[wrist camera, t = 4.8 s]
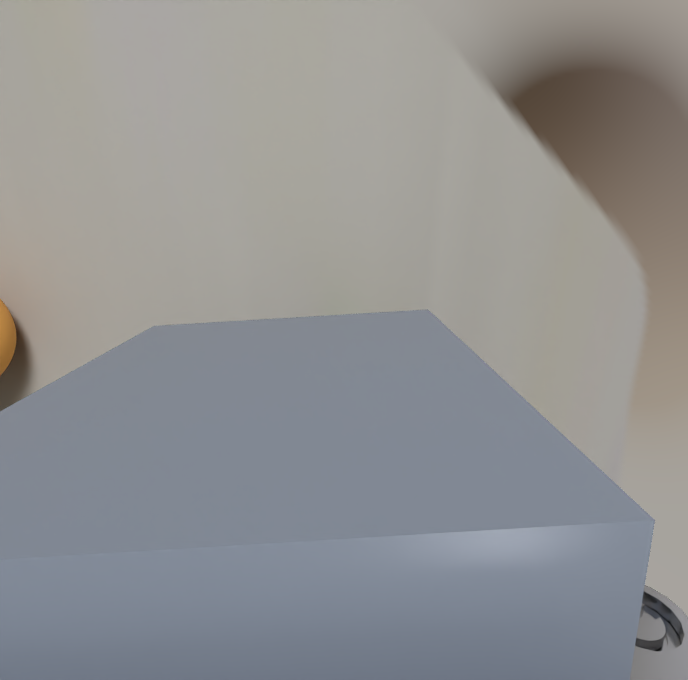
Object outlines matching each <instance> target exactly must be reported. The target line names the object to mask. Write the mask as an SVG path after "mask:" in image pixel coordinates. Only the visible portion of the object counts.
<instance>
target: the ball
mask: <svg viewBox="0 0 688 680" xmlns="http://www.w3.org/2000/svg"><path fill="white" fill-rule="evenodd" d="M16 339H17V338H16V328H15V324H14V321H13V318H12V316H11V314H10V312H9V310H8V308H7V307H6V305H5V304H4V303H3V301H2V300H1V299H0V376H1V374H2V373H3V372H4V371H5V370H6V368H7V367H8V365H9V363H10V361H11V360H12V357H13V355H14V351H15V347H16Z"/></svg>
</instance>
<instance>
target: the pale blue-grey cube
mask: <svg viewBox="0 0 688 680" xmlns="http://www.w3.org/2000/svg"><path fill="white" fill-rule="evenodd" d="M654 523H655V520H654V519H653V518H652V517H651V516H650V515H649V514H648V513H647V512H645V511H644V510H643V509H642V508H641V507H640V506H639V505H638V504H637V503H636V502H635V501H634V500H633V499H631V498H630V497H629V496H628V495H627V494H626V493H625V492H624V491H623V490H622V489H621V488H620V487H619V486H618V485H616V484H615V483H614V482H613V481H612V480H611V479H610V478H609V477H608V476H607V475H606V474H605V473H604V472H602V471H601V470H600V469H599V468H598V467H597V466H596V465H595V464H594V463H593V462H592V461H591V460H590V459H588V458H587V457H586V456H585V455H584V454H583V453H582V452H581V451H580V450H579V449H578V448H577V447H576V446H574V445H573V444H572V443H571V442H570V441H569V440H568V439H567V438H566V437H565V436H564V435H563V434H562V433H560V432H559V431H558V430H557V429H556V428H555V427H554V426H553V425H552V424H551V423H550V422H549V421H548V420H546V419H545V418H544V417H543V416H542V415H541V414H540V413H539V412H538V411H537V410H536V409H535V408H534V407H533V406H531V405H530V404H529V403H528V402H527V401H526V400H525V399H524V398H523V397H522V396H521V395H520V394H519V393H517V392H516V391H515V390H514V389H513V388H512V387H511V386H510V385H509V384H508V383H507V382H506V381H505V380H503V379H502V378H501V377H500V376H499V375H498V374H497V373H496V372H495V371H494V370H493V369H492V368H491V367H489V366H488V365H487V364H486V363H485V362H484V361H483V360H482V359H481V358H480V357H479V356H478V355H477V354H475V353H474V352H473V351H472V350H471V349H470V348H469V347H468V346H467V345H466V344H465V343H464V342H463V341H461V340H460V339H459V338H458V337H457V336H456V335H455V334H454V333H453V332H452V331H451V330H450V329H449V328H447V327H446V326H445V325H444V324H443V323H442V322H441V321H440V320H439V319H438V318H437V317H436V316H435V315H433V314H432V313H431V312H430V311H429V310H413V311H397V312H380V313H363V314H346V315H330V316H313V317H296V318H279V319H262V320H246V321H229V322H212V323H195V324H178V325H162V326H153V327H151V328H149V329H148V330H146V331H144V332H142V333H140V334H139V335H137V336H135V337H133V338H131V339H130V340H128V341H126V342H124V343H122V344H121V345H119V346H117V347H115V348H113V349H112V350H110V351H108V352H106V353H104V354H103V355H101V356H99V357H97V358H95V359H94V360H92V361H90V362H88V363H86V364H85V365H83V366H81V367H79V368H77V369H76V370H74V371H72V372H70V373H68V374H67V375H65V376H63V377H61V378H59V379H58V380H56V381H54V382H52V383H50V384H49V385H47V386H45V387H43V388H41V389H40V390H38V391H36V392H34V393H32V394H31V395H29V396H27V397H25V398H23V399H22V400H20V401H18V402H16V403H14V404H13V405H11V406H9V407H7V408H5V409H4V410H2V411H0V680H630V674H631V668H632V662H633V655H634V649H635V643H636V636H637V630H638V624H639V617H640V611H641V605H642V598H643V592H644V586H645V579H646V573H647V567H648V561H649V554H650V548H651V542H652V535H653V529H654Z"/></svg>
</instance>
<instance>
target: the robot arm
mask: <svg viewBox="0 0 688 680" xmlns="http://www.w3.org/2000/svg"><path fill="white" fill-rule="evenodd" d="M630 680H688V617H687V616H686V615H685V614H684V612H683V611H682V610H681V609H680V608H679V607H678V606H677V605H676V604H675V603H673V602H672V601H671V600H670V599H669V598H667V597H666V596H664V595H662V594H661V593H659V592H658V591H656V590H654V589H652V588H651V587H648V586H646V585H645V586H644V592H643V598H642V605H641V611H640V617H639V624H638V630H637V636H636V643H635V649H634V655H633V662H632V668H631V674H630Z"/></svg>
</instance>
